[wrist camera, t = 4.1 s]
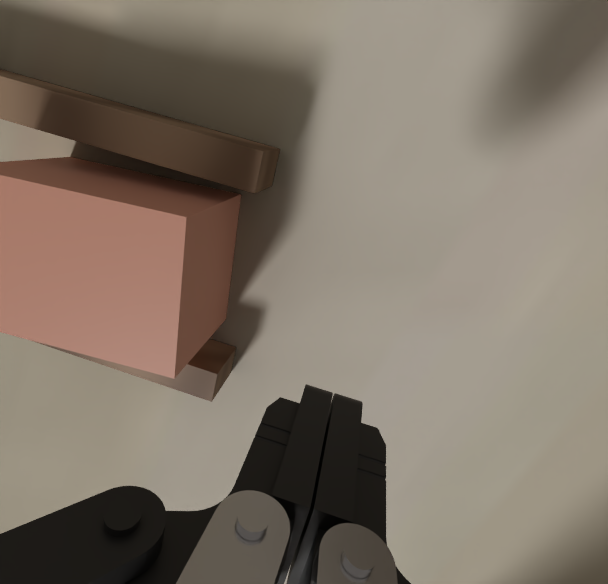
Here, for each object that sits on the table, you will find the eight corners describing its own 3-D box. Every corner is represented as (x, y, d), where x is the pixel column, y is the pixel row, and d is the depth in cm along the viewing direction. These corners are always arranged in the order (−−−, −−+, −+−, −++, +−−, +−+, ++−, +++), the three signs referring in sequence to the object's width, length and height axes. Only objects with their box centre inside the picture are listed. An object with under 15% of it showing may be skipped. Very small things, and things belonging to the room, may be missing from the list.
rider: (242, 193, 18) (186, 217, 13) (227, 317, 20) (174, 378, 15) (72, 156, 19) (-43, 165, 14) (75, 280, 21) (-22, 326, 16)
